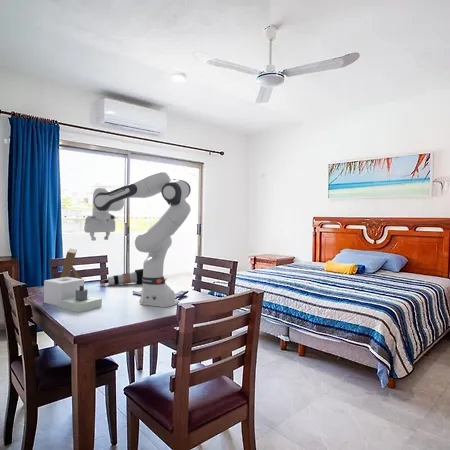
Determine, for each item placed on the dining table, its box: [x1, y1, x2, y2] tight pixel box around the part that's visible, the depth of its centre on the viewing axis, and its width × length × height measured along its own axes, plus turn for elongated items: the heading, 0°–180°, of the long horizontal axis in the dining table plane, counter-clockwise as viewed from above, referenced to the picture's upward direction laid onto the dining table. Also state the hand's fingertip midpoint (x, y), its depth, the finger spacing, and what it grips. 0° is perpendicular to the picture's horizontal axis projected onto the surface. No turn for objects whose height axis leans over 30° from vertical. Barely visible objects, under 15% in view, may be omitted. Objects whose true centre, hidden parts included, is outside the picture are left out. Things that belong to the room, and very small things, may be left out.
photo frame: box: [59, 247, 83, 279], centre depth 215 cm, size 15×22×25 cm
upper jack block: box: [43, 276, 85, 307], centre depth 184 cm, size 14×14×12 cm
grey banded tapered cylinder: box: [99, 268, 143, 287], centre depth 234 cm, size 10×34×10 cm, turn 111°
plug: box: [76, 285, 89, 301], centre depth 175 cm, size 4×4×10 cm
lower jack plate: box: [59, 295, 103, 313], centre depth 175 cm, size 14×14×4 cm
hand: (100, 240), depth 196 cm, fingers open, 8 cm apart
